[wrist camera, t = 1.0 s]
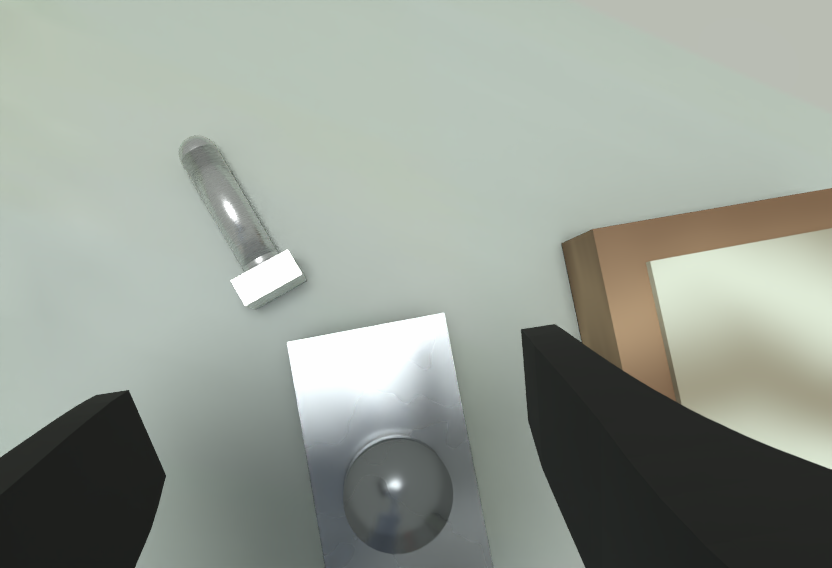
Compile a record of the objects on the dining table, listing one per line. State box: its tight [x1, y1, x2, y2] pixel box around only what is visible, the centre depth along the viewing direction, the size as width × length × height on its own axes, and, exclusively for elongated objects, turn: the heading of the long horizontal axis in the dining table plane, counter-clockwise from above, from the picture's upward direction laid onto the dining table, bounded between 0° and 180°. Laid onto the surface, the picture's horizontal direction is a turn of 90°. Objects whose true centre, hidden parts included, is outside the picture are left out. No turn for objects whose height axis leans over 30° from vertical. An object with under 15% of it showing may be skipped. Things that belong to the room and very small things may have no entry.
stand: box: [562, 188, 832, 469], centre depth 22 cm, size 14×11×3 cm
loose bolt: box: [179, 136, 307, 309], centre depth 21 cm, size 7×2×2 cm, turn 31°
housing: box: [287, 313, 493, 568], centre depth 19 cm, size 10×5×5 cm, turn 11°
